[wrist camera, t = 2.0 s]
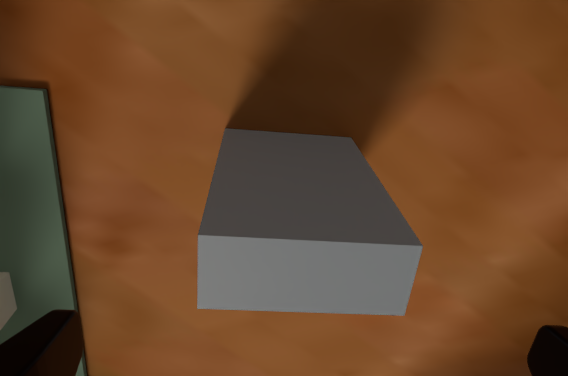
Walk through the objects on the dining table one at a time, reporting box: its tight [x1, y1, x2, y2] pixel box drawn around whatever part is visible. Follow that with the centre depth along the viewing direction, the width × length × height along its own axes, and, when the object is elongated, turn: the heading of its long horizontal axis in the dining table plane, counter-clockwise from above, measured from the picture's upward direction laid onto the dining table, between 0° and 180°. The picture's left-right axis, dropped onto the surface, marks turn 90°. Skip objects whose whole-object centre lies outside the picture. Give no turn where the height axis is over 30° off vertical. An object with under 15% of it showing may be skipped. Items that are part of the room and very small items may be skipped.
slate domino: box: [197, 128, 423, 316], centre depth 13 cm, size 5×2×8 cm, turn 85°
